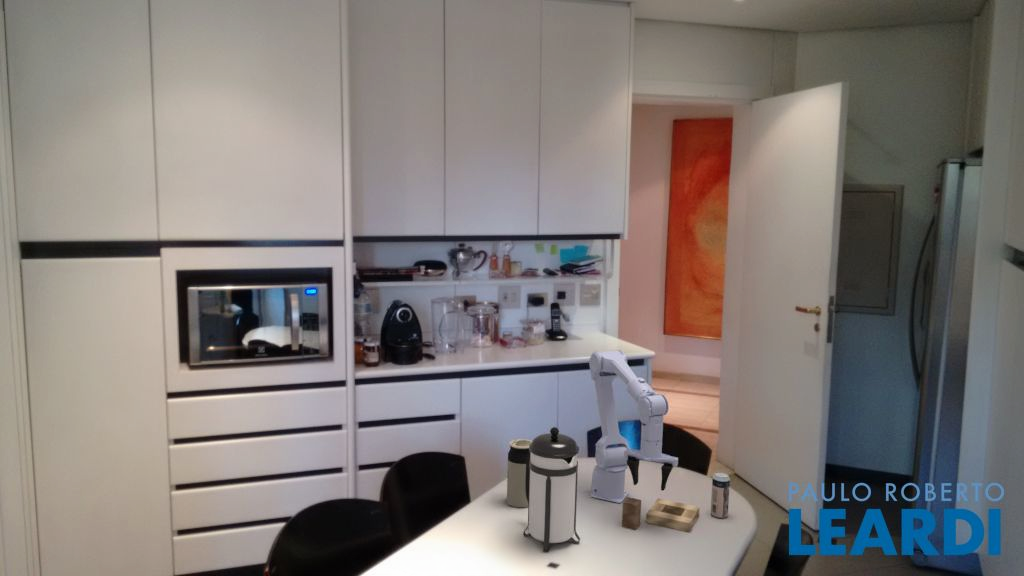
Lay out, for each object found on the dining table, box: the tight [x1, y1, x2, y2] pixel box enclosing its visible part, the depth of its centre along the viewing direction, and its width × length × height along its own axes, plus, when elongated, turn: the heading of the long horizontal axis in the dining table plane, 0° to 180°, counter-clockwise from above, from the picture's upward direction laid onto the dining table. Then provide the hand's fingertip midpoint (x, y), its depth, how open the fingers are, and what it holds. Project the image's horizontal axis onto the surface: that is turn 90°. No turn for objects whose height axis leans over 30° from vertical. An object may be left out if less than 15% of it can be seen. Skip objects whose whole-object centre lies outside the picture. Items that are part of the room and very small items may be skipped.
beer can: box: [710, 471, 731, 519], centre depth 193 cm, size 5×5×12 cm
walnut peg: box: [621, 496, 642, 531], centre depth 186 cm, size 4×4×7 cm
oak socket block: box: [645, 498, 701, 533], centre depth 191 cm, size 12×12×2 cm
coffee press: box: [522, 426, 581, 553], centre depth 176 cm, size 17×16×30 cm
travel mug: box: [506, 438, 533, 509], centre depth 198 cm, size 8×8×18 cm
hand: (649, 486), depth 187 cm, fingers open, 7 cm apart
